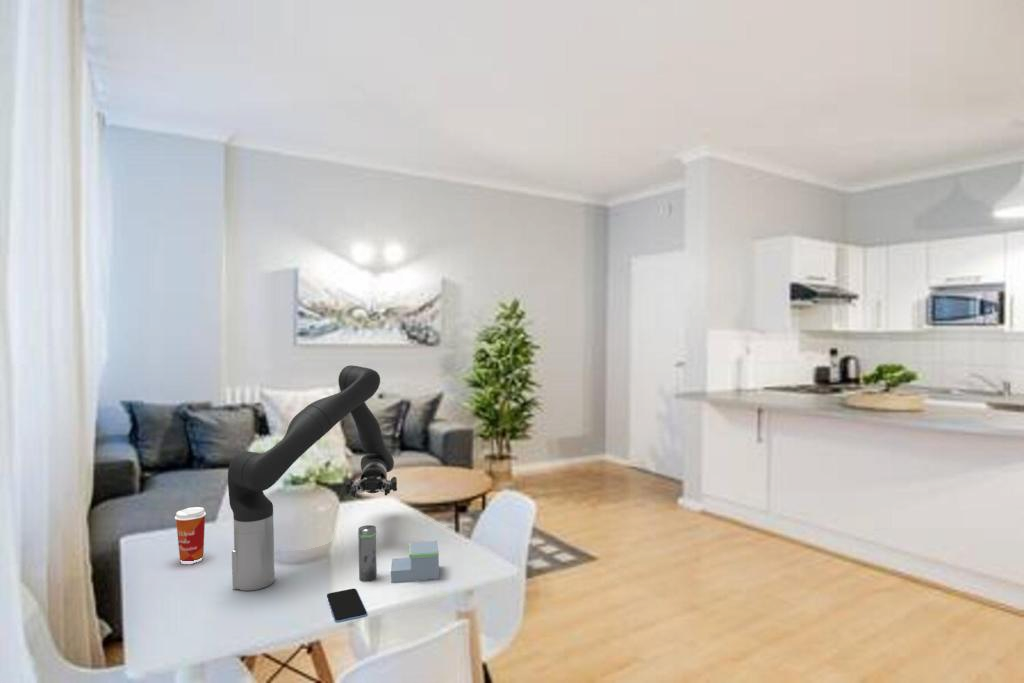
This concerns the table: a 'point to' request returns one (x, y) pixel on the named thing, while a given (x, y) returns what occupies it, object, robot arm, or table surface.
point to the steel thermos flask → (367, 553)
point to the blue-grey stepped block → (417, 563)
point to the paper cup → (190, 533)
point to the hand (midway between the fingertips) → (370, 492)
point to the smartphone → (346, 605)
